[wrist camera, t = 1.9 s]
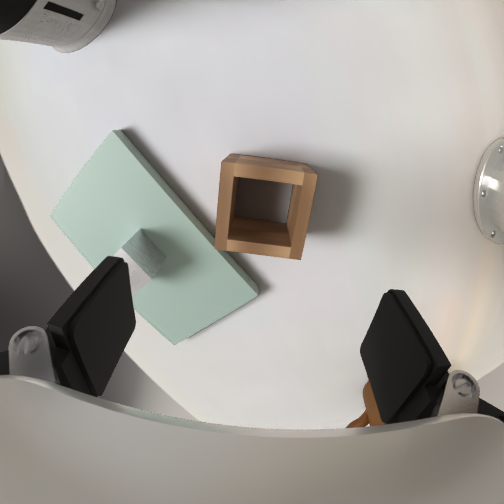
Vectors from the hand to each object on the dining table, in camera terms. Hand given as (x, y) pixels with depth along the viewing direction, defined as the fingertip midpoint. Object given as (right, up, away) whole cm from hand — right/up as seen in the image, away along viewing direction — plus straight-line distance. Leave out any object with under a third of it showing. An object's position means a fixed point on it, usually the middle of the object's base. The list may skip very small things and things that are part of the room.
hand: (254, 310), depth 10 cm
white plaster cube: (-10, +2, +15) cm, 19 cm away
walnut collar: (+1, +7, +14) cm, 16 cm away
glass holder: (-15, +25, +6) cm, 30 cm away
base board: (-10, +3, +17) cm, 20 cm away
